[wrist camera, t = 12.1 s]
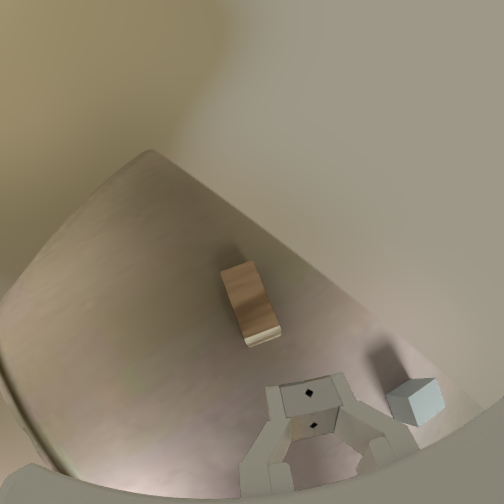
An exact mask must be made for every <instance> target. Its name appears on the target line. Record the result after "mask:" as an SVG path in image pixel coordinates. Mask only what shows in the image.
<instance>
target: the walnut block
mask: <svg viewBox="0 0 504 504" xmlns="http://www.w3.org/2000/svg"><path fill="white" fill-rule="evenodd" d="M220 274H221V277H222V279H223V282H224V285H225V288H226V291H227V294H228V296H229V299H230V302H231V305H232V307H233V310H234V313H235V316H236V318H237V321H238V324H239V326H240V329H241V332H242V334H243V337H244V340H245V342H246V345H247V346H248V347H249V348H250V347H252V346H255V345H258V344H260V343H263V342H266V341H268V340H271V339H274V338H276V337H279V336H281V333H282V330H281V327H280V325H279V322H278V320H277V318H276V315H275V313H274V310H273V308H272V305H271V303H270V301H269V298H268V296H267V293H266V291H265V289H264V286H263V284H262V281H261V279H260V276H259V274H258V272H257V269H256V267H255V264H254V262H253V260H250V261H248V262H245V263H242V264H240V265H237V266H234V267H232V268H229V269H226V270H223V271H221V272H220Z"/></svg>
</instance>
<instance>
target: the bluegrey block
mask: <svg viewBox="0 0 504 504" xmlns="http://www.w3.org/2000/svg"><path fill="white" fill-rule="evenodd" d="M385 396H386V399H387V401H388V404H389V406H390V409H391V412H392V414H393V417H394V419H395V420H397V421H399V422H403V423H406V424H409V425H413V426H416V427H419V426H421V425H422V424H424V423H425V422H426V421H428V420H429V419H430V418H432V417H433V416H434V415H436V414H437V413H438V412H439V411H441V410H442V409H443V408H444V407H446V406H445V403H444V400H443V397H442V394H441V391H440V388H439V385H438V382H437V380H436V378H424V379H409V380H408V381H406V382H405V383H403V384H402V385H400V386H399V387H397V388H395V389H394V390H392V391H391V392H389V393H387V394H386V395H385Z"/></svg>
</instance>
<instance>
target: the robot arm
mask: <svg viewBox="0 0 504 504" xmlns="http://www.w3.org/2000/svg"><path fill="white" fill-rule="evenodd" d="M265 391H266V399H267V408H268V416H269V421H267V422H266V424H265V425H264V427H263V429H262V430H261V432H260V434H259V435H258V437H257V439H256V440H255V442H254V443H253V445H252V447H251V448H250V450H249V451H248V453H247V455H246V456H245V458H244V459H243V461H242V462H241V464H240V465H239V478H240V492H241V498H232V499H188V498H173V497H162V496H153V495H146V494H139V493H133V492H127V491H122V490H117V489H112V488H108V487H104V486H100V485H96V484H92V483H88V482H85V481H82V480H78V479H75V478H72V477H69V476H66V475H63V474H60V473H57V472H55V471H52V470H49V469H47V468H45V467H42V466H40V465H37V464H34V463H33V464H32V463H31V464H28V465H26V466H24V467H22V468H20V469H18V470H17V471H15V472H14V473H12V474H10V475H9V476H8V477H7V478H6V479H5V481H4V482H3V484H2V486H1V488H0V504H504V396H503V397H502V398H501V399H500V400H499V401H497V402H496V403H495V404H494V405H492V406H491V407H489V408H488V409H487V410H485V411H484V412H483V413H481V414H480V415H478V416H477V417H475V418H474V419H473V420H471V421H470V422H468V423H467V424H465V425H463V426H462V427H460V428H459V429H457V430H456V431H454V432H452V433H451V434H449V435H447V436H445V437H444V438H442V439H440V440H438V441H437V442H435V443H433V444H431V445H429V446H427V447H425V448H423V449H421V450H420V448H419V447H418V445H417V443H416V441H415V439H414V437H413V436H412V434H411V432H410V430H409V428H408V427H407V425H405V424H403V423H401V422H399V421H397V420H395V419H393V418H391V417H389V416H387V415H385V414H383V413H382V412H380V411H378V410H376V409H374V408H372V407H371V406H369V405H367V404H365V403H363V402H362V401H359V402H357V401H356V399H355V397H354V395H353V392H352V390H351V388H350V386H349V384H348V382H347V380H346V378H345V376H344V374H343V373H342V372H341V373H337V374H333V375H329V376H323V377H319V378H314V379H310V380H305V381H302V382H296V383H289V384H282V385H276V386H268V387H265ZM332 432H334V434H335V435H337V436H338V437H339V438H340V439H342V440H343V441H344V442H346V443H347V444H348V445H349V446H351V447H352V448H353V449H355V450H356V451H357V452H359V453H360V454H361V455H363V457H362V459H361V460H360V462H359V464H358V466H357V468H356V471H357V474H358V476H355V477H352V478H348V479H345V480H342V481H338V482H334V483H331V484H327V485H323V486H318V487H314V488H310V489H305V490H300V491H295V488H294V483H293V479H292V474H291V470H290V465H289V464H287V463H285V462H282V461H283V459H284V457H285V455H286V453H287V451H288V448H289V446H290V444H291V441H296V440H300V439H305V438H309V437H314V436H319V435H323V434H328V433H332Z"/></svg>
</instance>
